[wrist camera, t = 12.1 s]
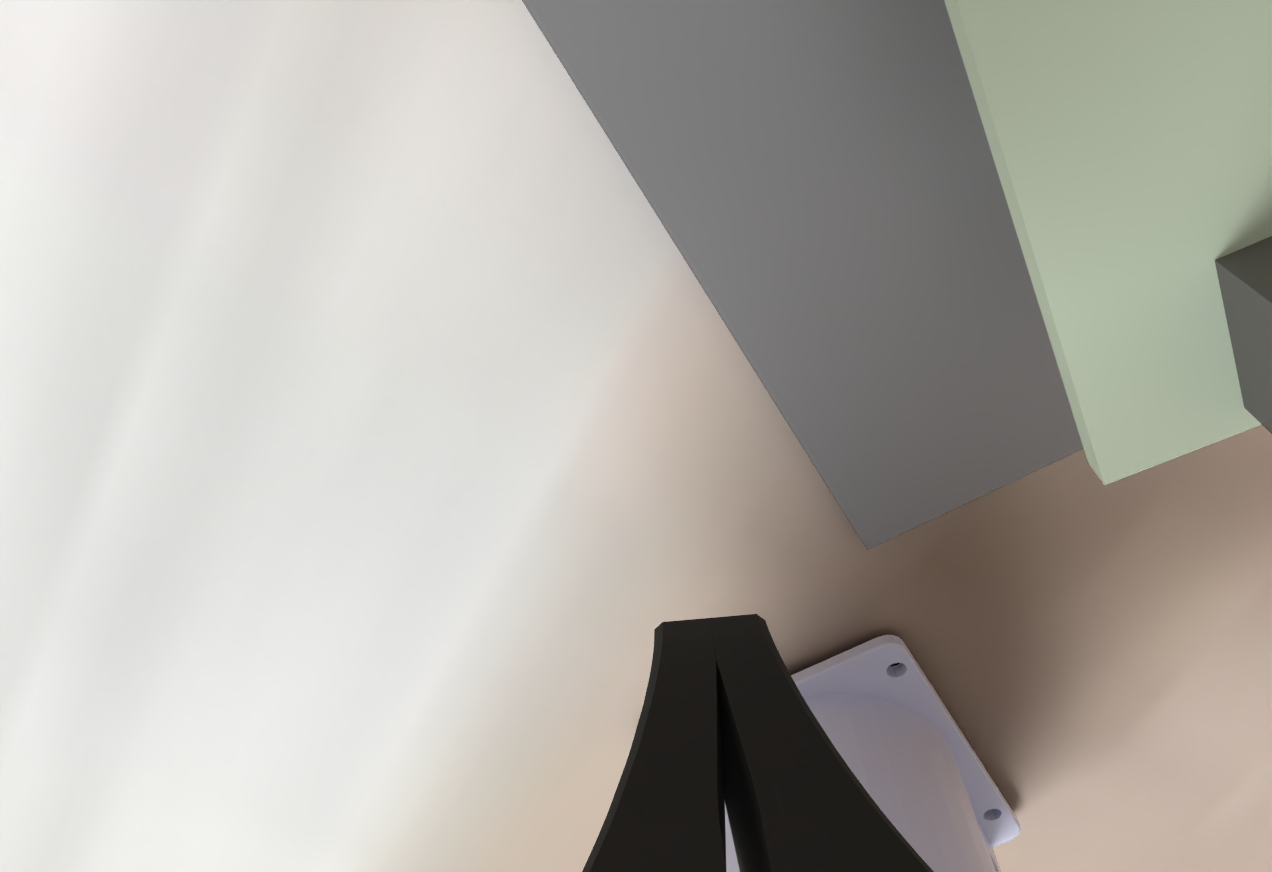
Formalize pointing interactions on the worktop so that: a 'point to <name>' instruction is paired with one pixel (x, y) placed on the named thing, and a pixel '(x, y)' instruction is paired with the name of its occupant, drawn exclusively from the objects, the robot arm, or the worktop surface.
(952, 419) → the large grey box
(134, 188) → the worktop surface
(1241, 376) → the cover
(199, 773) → the worktop surface
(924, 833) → the robot arm
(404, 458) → the worktop surface
